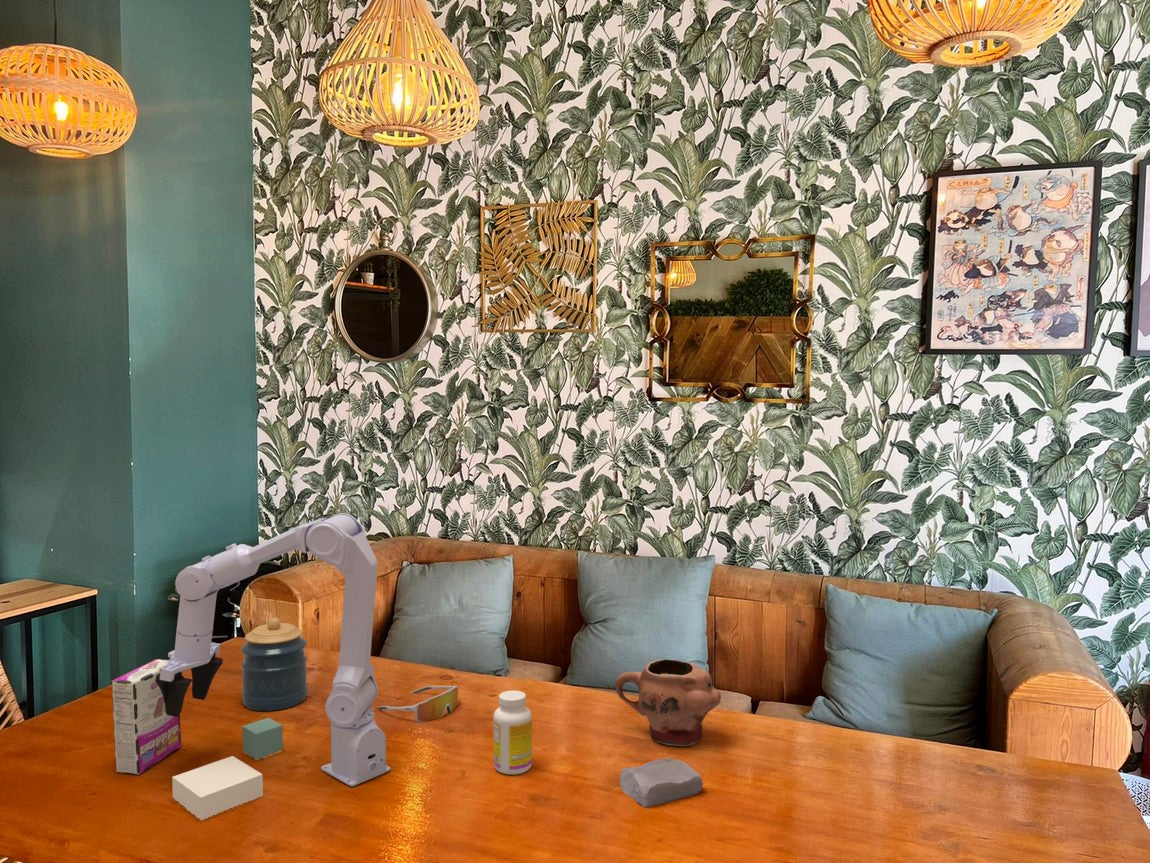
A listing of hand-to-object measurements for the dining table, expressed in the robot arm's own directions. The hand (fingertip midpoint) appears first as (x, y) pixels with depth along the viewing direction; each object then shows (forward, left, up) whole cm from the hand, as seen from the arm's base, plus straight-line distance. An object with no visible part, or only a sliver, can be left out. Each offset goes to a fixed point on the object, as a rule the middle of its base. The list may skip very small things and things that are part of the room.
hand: (186, 706), depth 144 cm
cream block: (-16, +2, -11) cm, 19 cm away
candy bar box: (+6, +4, -10) cm, 13 cm away
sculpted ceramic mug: (-57, -65, -10) cm, 87 cm away
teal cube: (-6, -11, -10) cm, 16 cm away
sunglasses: (-11, -43, -11) cm, 46 cm away
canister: (+15, -25, -10) cm, 31 cm away
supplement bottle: (-44, -37, -10) cm, 58 cm away
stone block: (-67, -48, -11) cm, 83 cm away
